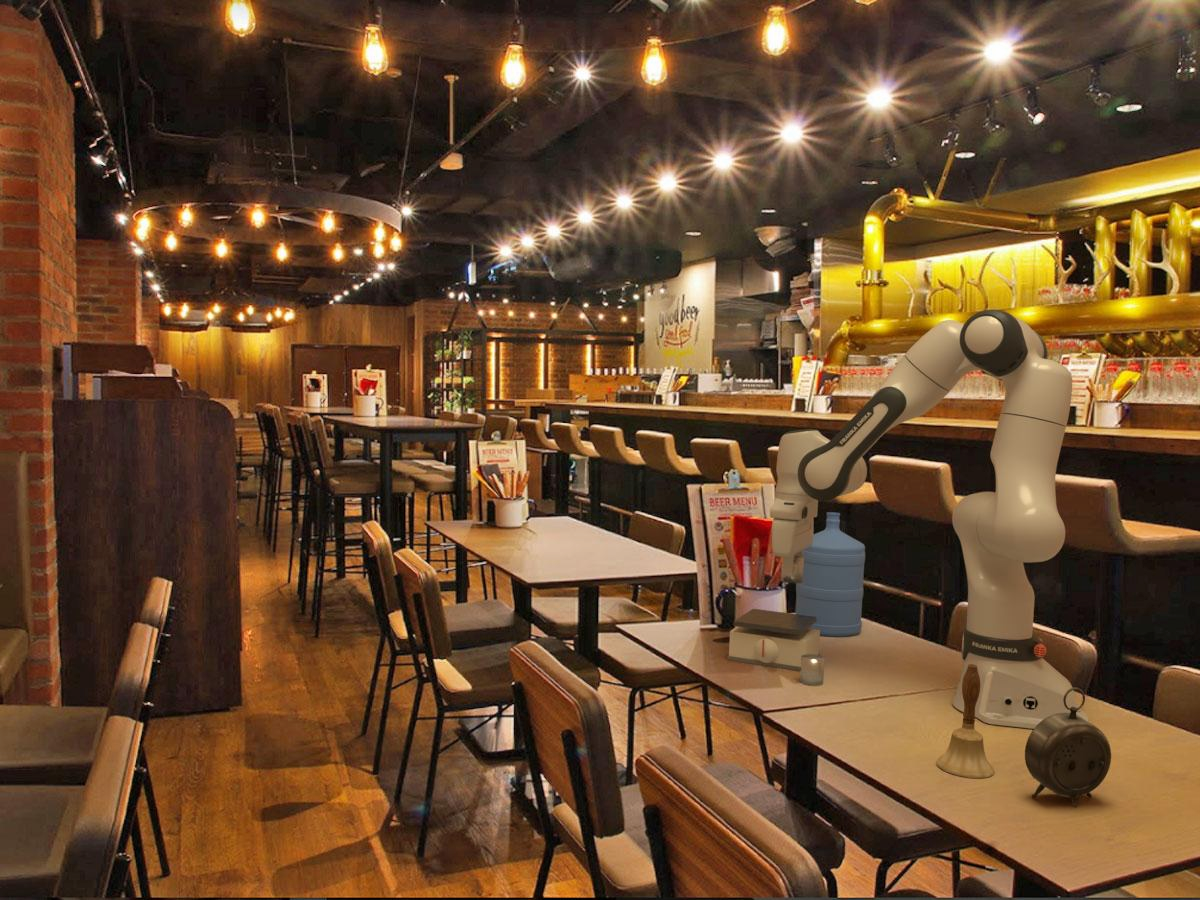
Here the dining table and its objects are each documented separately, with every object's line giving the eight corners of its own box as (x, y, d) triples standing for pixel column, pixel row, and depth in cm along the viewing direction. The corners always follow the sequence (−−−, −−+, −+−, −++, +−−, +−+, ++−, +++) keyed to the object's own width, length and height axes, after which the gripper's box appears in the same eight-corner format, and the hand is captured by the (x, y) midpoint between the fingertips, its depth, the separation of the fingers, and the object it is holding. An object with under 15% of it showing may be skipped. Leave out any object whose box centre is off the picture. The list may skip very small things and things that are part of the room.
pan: (816, 626, 213) (816, 616, 212) (800, 640, 200) (800, 630, 200) (752, 617, 219) (753, 608, 218) (733, 630, 206) (733, 621, 206)
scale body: (820, 657, 212) (821, 629, 211) (805, 672, 200) (806, 643, 200) (744, 646, 219) (746, 619, 218) (726, 660, 207) (727, 631, 207)
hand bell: (1003, 769, 151) (1010, 666, 150) (979, 783, 145) (985, 675, 144) (951, 754, 157) (957, 654, 156) (926, 766, 151) (932, 663, 150)
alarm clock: (1089, 792, 143) (1097, 681, 142) (1114, 808, 138) (1122, 693, 137) (1019, 794, 142) (1027, 682, 141) (1042, 810, 136) (1050, 694, 135)
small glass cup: (825, 681, 194) (826, 656, 194) (820, 687, 190) (821, 661, 190) (802, 677, 196) (804, 653, 196) (797, 683, 192) (798, 658, 192)
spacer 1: (784, 578, 210) (785, 554, 210) (804, 580, 208) (806, 557, 208) (778, 581, 206) (779, 557, 206) (799, 584, 204) (800, 559, 204)
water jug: (864, 639, 229) (871, 518, 227) (795, 634, 231) (801, 515, 230) (858, 624, 244) (863, 511, 243) (792, 619, 247) (798, 507, 245)
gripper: (793, 501, 217) (790, 564, 218) (767, 509, 199) (763, 578, 200) (822, 504, 215) (818, 567, 215) (799, 512, 196) (795, 582, 197)
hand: (792, 572), depth 207 cm, fingers closed on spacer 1, 4 cm apart
